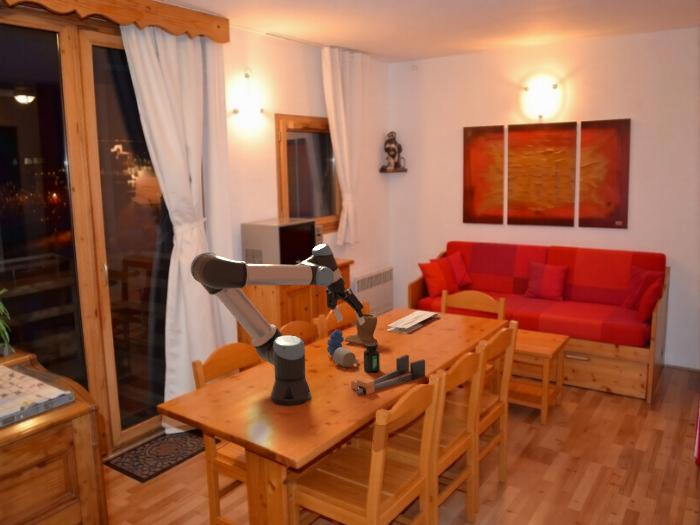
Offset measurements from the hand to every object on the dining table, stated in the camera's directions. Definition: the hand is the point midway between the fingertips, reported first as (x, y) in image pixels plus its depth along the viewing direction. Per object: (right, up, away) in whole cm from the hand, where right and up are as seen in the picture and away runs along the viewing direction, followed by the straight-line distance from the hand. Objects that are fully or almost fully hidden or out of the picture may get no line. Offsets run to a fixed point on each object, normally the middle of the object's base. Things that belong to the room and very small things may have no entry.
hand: (351, 322), depth 256 cm
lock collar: (+4, -25, -20) cm, 32 cm away
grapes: (-8, -18, +26) cm, 33 cm away
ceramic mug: (-2, -20, +11) cm, 24 cm away
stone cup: (+6, -15, +43) cm, 46 cm away
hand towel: (+34, -9, +77) cm, 85 cm away
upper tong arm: (+14, -23, -12) cm, 29 cm away
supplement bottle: (+9, -22, +2) cm, 24 cm away
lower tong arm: (+18, -24, -14) cm, 33 cm away
